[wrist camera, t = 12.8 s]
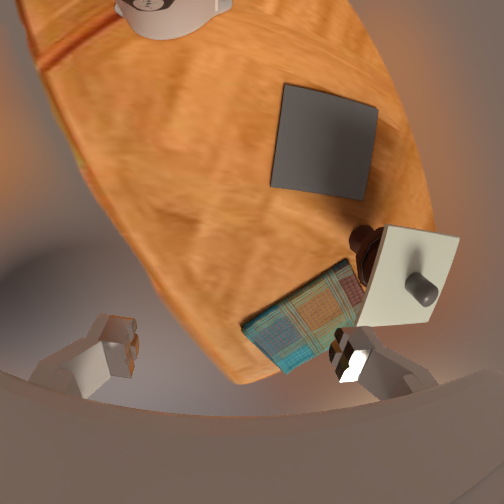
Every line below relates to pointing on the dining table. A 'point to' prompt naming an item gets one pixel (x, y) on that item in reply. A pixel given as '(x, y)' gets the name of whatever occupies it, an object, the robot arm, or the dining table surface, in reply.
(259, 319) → the dish towel
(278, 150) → the mat
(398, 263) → the lid
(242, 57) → the dining table surface
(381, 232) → the ice cream bowl
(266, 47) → the dining table surface
